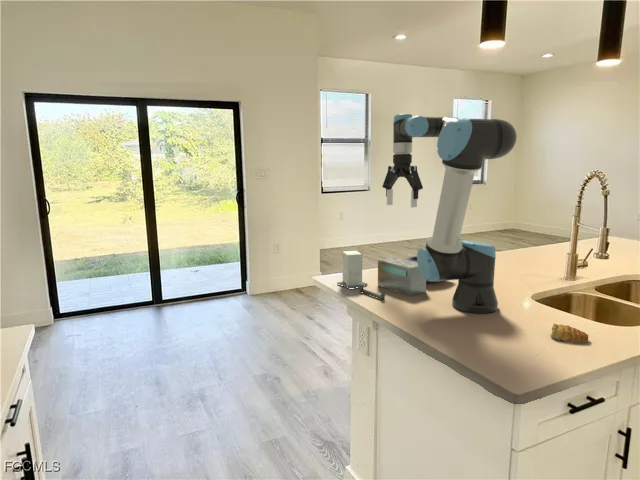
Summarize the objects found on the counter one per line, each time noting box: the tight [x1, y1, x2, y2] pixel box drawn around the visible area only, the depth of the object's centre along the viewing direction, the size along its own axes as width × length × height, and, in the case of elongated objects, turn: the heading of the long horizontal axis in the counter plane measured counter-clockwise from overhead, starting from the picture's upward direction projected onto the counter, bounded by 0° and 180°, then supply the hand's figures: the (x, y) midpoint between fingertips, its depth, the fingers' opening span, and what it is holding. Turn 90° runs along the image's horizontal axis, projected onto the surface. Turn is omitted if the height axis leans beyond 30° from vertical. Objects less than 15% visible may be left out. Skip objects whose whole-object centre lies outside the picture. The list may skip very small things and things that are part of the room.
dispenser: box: [359, 256, 427, 301], centre depth 167 cm, size 18×21×11 cm
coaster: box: [336, 280, 368, 289], centre depth 177 cm, size 9×9×1 cm
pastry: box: [550, 323, 589, 344], centre depth 121 cm, size 9×7×4 cm
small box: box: [342, 250, 363, 286], centre depth 176 cm, size 8×6×13 cm
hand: (401, 206), depth 175 cm, fingers open, 13 cm apart
